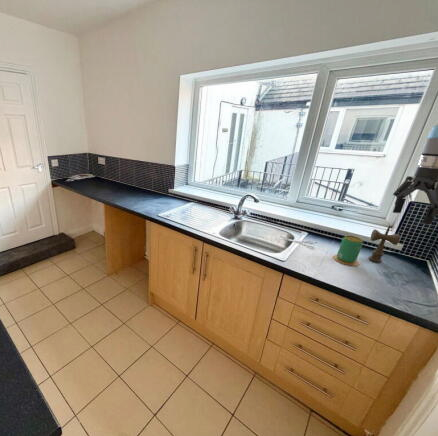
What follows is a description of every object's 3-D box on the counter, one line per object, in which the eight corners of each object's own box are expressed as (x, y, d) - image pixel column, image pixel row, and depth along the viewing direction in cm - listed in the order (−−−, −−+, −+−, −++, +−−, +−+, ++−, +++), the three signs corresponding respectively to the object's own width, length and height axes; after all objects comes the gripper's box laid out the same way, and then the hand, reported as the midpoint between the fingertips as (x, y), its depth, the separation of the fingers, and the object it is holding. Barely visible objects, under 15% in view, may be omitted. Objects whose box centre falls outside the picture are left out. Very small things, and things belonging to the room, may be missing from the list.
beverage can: (342, 253, 130) (349, 233, 125) (359, 261, 123) (367, 240, 119) (332, 256, 127) (340, 236, 123) (349, 264, 120) (357, 243, 116)
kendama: (361, 255, 130) (375, 221, 122) (385, 260, 125) (401, 225, 118) (363, 260, 125) (378, 225, 118) (388, 266, 121) (405, 230, 113)
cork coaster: (349, 255, 130) (349, 254, 130) (365, 266, 120) (365, 265, 120) (327, 254, 131) (328, 254, 131) (341, 265, 120) (342, 264, 120)
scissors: (317, 249, 134) (277, 240, 144) (317, 250, 135) (277, 241, 144) (317, 241, 143) (279, 233, 152) (316, 243, 143) (279, 234, 153)
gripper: (393, 162, 107) (377, 208, 114) (455, 172, 84) (431, 228, 91) (411, 163, 107) (394, 209, 114) (479, 172, 83) (452, 229, 90)
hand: (410, 217), depth 102 cm, fingers open, 13 cm apart
